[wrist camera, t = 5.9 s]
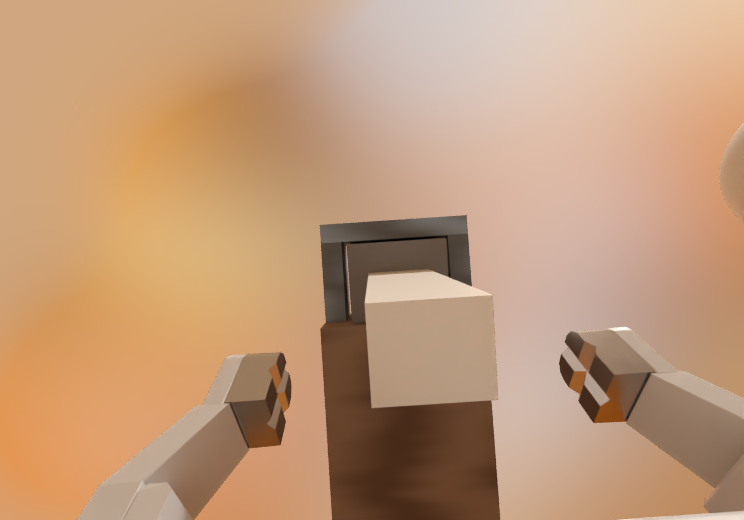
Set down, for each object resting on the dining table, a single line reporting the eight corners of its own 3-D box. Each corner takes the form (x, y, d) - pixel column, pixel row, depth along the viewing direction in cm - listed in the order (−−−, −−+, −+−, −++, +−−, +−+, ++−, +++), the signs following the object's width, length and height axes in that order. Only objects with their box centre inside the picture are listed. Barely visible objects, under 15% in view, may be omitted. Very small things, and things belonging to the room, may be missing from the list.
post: (489, 730, 20) (452, 222, 21) (526, 878, 15) (477, 209, 16) (359, 738, 20) (327, 231, 21) (355, 889, 15) (313, 220, 16)
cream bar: (435, 303, 20) (431, 239, 20) (540, 397, 8) (532, 228, 7) (356, 308, 20) (351, 244, 20) (329, 411, 8) (317, 242, 7)
